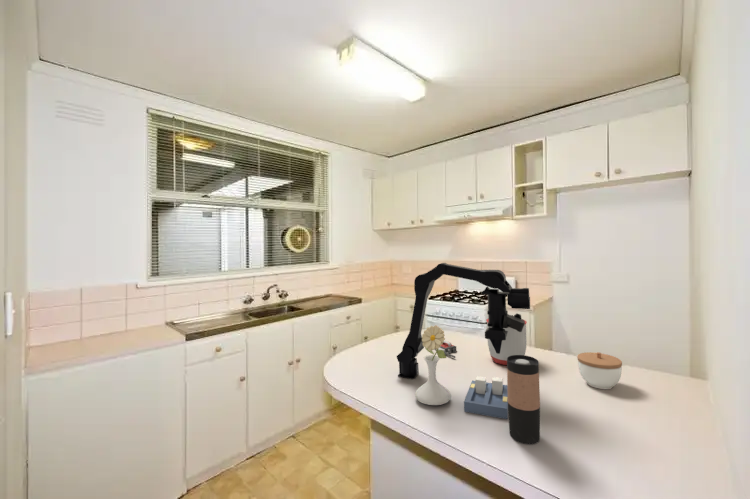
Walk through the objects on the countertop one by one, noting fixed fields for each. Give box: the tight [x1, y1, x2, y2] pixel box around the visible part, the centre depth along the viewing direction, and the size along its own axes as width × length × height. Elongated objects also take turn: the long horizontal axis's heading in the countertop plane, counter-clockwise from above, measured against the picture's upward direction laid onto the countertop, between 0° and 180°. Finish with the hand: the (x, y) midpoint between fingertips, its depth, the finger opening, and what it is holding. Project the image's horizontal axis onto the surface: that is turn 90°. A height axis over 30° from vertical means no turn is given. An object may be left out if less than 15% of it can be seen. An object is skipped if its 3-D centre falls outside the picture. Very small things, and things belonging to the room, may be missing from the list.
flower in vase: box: [414, 325, 452, 406], centre depth 106 cm, size 13×11×25 cm
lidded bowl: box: [576, 352, 623, 390], centre depth 113 cm, size 13×13×11 cm
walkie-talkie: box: [434, 340, 457, 359], centre depth 152 cm, size 9×4×20 cm
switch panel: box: [463, 380, 509, 420], centre depth 104 cm, size 12×16×3 cm
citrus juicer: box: [486, 318, 528, 366], centre depth 139 cm, size 16×17×20 cm
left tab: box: [474, 375, 487, 394], centre depth 108 cm, size 3×3×4 cm
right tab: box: [491, 376, 504, 395], centre depth 107 cm, size 3×3×4 cm
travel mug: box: [506, 354, 541, 445], centre depth 86 cm, size 8×8×20 cm
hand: (498, 353), depth 113 cm, fingers closed
